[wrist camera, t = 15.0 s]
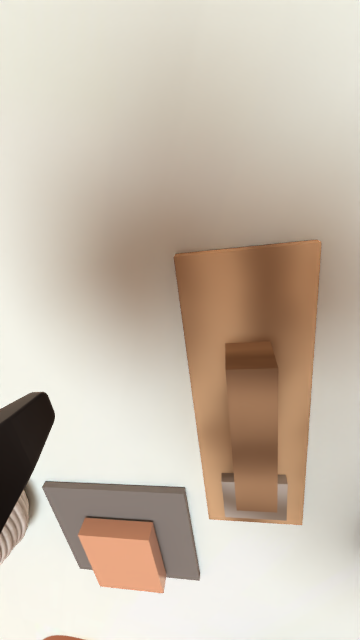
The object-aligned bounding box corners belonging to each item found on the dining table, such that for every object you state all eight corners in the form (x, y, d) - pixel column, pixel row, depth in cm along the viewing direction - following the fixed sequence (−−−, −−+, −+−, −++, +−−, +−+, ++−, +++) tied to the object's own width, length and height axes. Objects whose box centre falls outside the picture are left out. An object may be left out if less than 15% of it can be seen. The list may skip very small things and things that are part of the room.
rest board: (317, 239, 16) (321, 242, 15) (299, 515, 26) (302, 525, 25) (175, 253, 18) (173, 256, 17) (209, 510, 27) (209, 519, 26)
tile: (148, 540, 26) (163, 593, 30) (153, 520, 28) (166, 572, 32) (77, 535, 28) (100, 586, 31) (85, 515, 29) (106, 566, 33)
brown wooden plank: (208, 344, 19) (205, 370, 16) (288, 340, 18) (300, 367, 15) (225, 507, 25) (225, 545, 23) (284, 510, 25) (292, 551, 22)
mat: (184, 487, 26) (183, 494, 26) (199, 574, 32) (199, 580, 31) (45, 481, 29) (42, 487, 28) (82, 562, 34) (80, 568, 34)
